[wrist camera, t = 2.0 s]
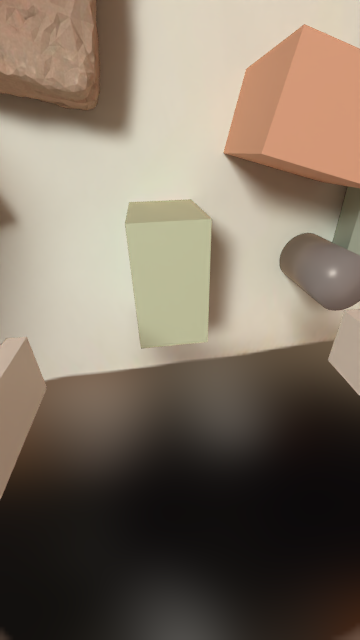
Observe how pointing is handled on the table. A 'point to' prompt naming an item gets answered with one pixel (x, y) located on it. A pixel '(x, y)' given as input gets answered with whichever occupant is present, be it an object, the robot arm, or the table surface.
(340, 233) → the tray
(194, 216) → the sage block
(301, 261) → the grey canister
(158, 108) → the table surface
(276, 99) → the terracotta block
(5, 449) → the robot arm
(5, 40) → the brick
